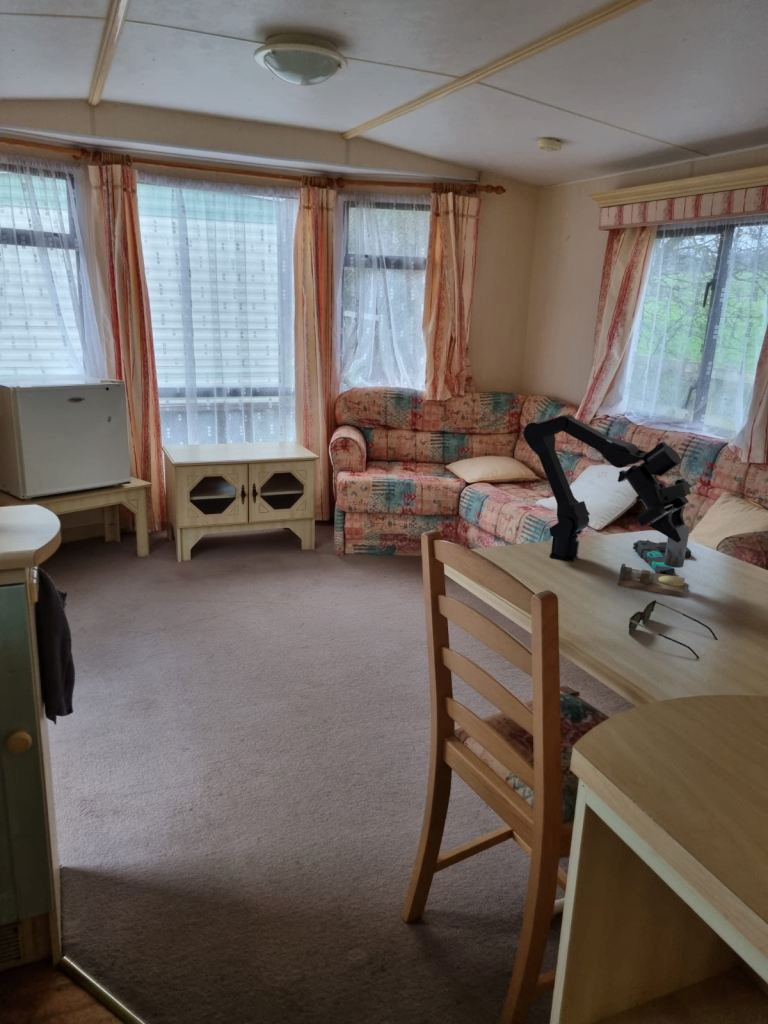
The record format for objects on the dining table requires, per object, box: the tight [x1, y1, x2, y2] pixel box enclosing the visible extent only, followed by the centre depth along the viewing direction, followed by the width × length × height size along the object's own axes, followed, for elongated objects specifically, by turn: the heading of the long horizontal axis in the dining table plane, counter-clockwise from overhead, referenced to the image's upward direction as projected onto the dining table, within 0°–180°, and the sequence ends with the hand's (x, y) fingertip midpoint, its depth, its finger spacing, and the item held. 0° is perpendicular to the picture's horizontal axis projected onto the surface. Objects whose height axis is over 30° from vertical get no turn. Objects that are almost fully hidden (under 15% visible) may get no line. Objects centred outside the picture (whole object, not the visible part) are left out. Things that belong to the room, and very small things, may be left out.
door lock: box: [617, 563, 685, 597], centre depth 179 cm, size 15×11×4 cm
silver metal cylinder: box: [664, 523, 691, 569], centre depth 175 cm, size 5×5×10 cm
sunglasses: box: [628, 599, 718, 659], centre depth 149 cm, size 14×15×5 cm
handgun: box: [632, 539, 692, 576], centre depth 196 cm, size 4×26×15 cm
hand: (683, 539), depth 174 cm, fingers closed on silver metal cylinder, 5 cm apart
